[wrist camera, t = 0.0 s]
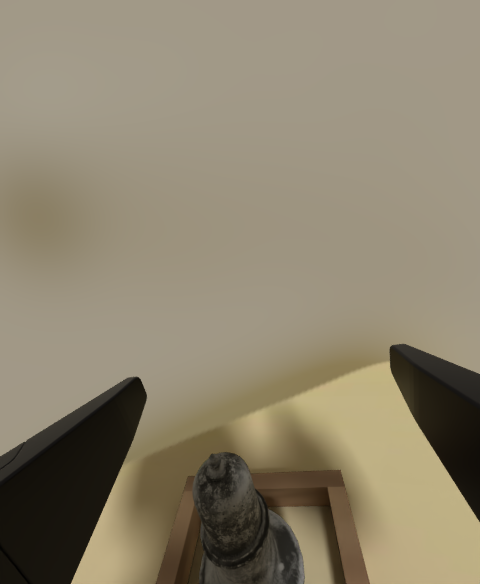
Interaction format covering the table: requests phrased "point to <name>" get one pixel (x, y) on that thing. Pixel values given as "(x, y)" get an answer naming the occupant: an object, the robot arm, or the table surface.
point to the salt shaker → (241, 528)
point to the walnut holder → (276, 492)
